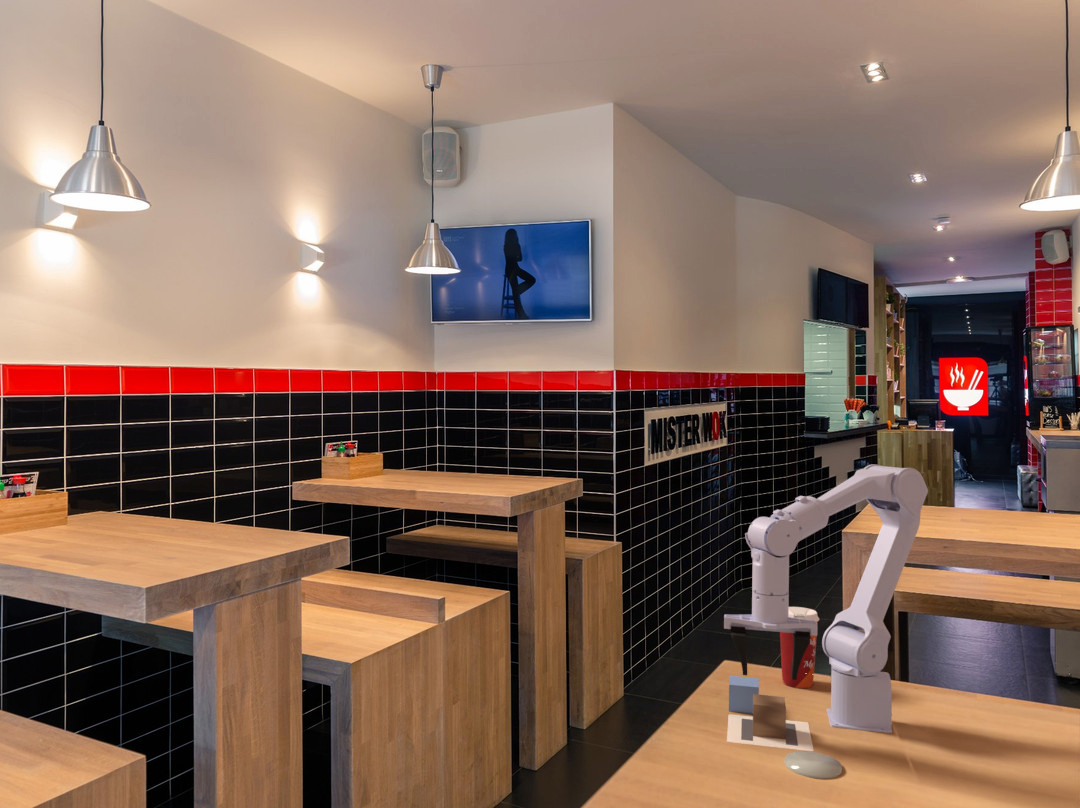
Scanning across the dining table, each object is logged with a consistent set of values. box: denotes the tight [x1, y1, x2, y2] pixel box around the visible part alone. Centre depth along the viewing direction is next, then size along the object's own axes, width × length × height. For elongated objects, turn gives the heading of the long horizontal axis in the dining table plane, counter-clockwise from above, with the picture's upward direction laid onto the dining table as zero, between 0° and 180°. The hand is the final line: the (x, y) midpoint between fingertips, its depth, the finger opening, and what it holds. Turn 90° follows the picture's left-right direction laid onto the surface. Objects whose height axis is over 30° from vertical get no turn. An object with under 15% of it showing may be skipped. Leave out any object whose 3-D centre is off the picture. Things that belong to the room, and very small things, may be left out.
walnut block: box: [752, 694, 787, 739], centre depth 132 cm, size 5×5×5 cm
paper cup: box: [779, 606, 820, 689], centre depth 157 cm, size 8×8×14 cm
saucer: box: [784, 750, 843, 780], centre depth 120 cm, size 8×8×1 cm
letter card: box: [726, 713, 815, 752], centre depth 132 cm, size 13×12×1 cm
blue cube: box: [728, 675, 760, 715], centre depth 143 cm, size 5×5×5 cm
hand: (769, 675), depth 132 cm, fingers open, 7 cm apart
